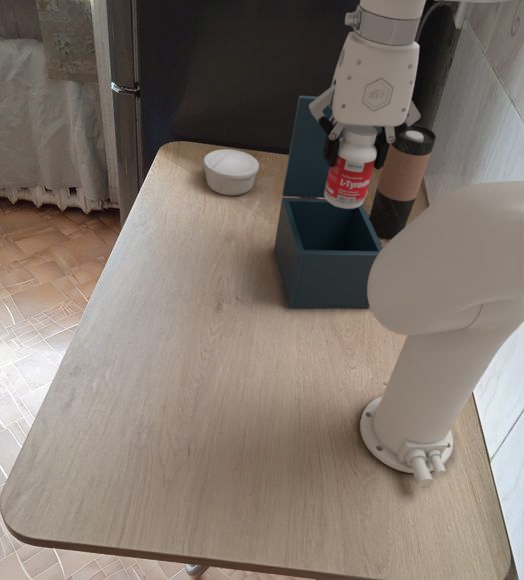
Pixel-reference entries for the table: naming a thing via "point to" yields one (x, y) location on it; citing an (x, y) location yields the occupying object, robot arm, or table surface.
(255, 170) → the ramekin
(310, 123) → the lid
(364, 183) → the pill bottle
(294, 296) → the chest
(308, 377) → the table surface
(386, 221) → the travel mug
